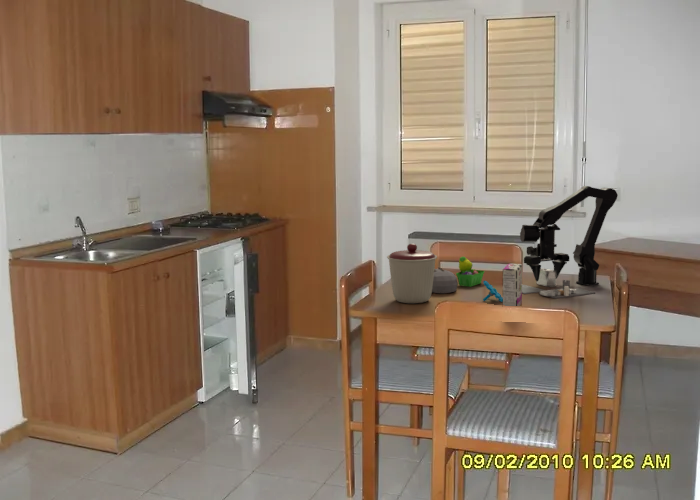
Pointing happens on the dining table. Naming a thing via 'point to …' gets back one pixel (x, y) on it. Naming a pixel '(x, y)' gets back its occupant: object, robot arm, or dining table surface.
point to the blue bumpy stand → (492, 292)
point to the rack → (558, 290)
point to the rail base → (566, 293)
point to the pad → (530, 289)
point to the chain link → (547, 278)
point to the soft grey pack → (444, 281)
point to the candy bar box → (512, 285)
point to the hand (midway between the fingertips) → (546, 280)
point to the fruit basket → (468, 273)
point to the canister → (412, 274)
